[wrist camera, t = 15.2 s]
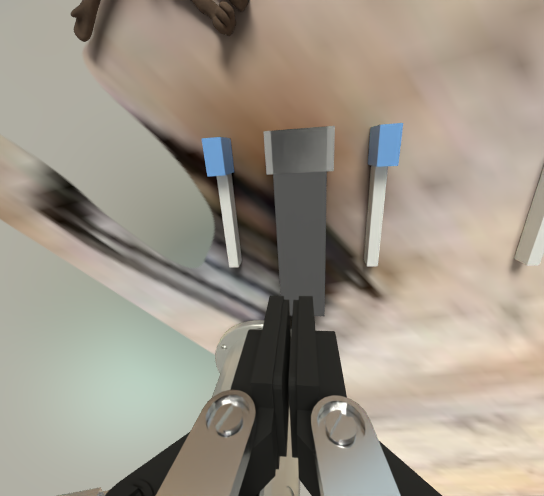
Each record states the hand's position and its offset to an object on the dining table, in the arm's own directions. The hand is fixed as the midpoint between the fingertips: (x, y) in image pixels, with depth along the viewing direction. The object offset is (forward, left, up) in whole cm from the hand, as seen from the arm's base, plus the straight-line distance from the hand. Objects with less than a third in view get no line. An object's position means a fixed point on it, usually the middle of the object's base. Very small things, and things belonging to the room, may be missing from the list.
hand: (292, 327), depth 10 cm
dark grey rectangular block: (0, 0, -17) cm, 17 cm away
